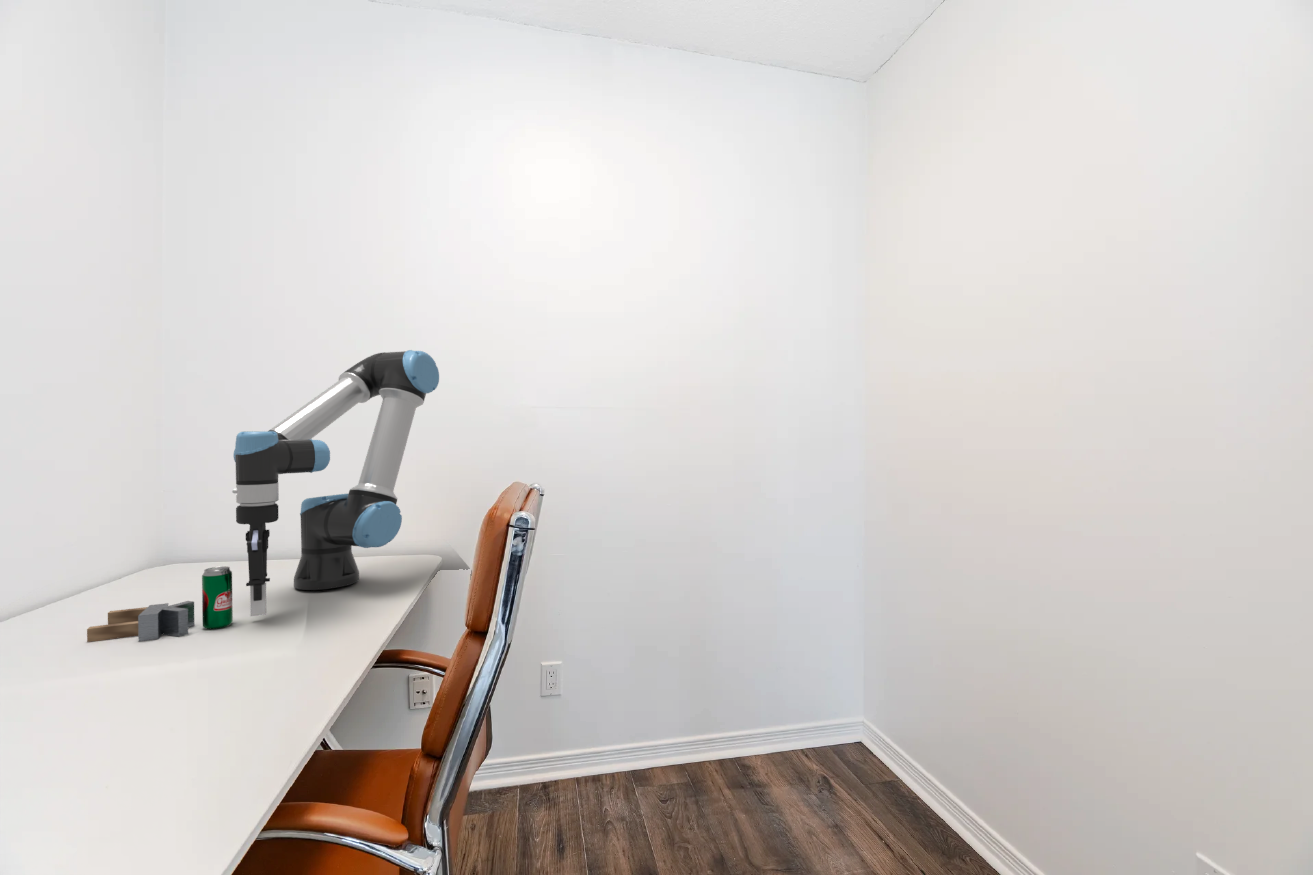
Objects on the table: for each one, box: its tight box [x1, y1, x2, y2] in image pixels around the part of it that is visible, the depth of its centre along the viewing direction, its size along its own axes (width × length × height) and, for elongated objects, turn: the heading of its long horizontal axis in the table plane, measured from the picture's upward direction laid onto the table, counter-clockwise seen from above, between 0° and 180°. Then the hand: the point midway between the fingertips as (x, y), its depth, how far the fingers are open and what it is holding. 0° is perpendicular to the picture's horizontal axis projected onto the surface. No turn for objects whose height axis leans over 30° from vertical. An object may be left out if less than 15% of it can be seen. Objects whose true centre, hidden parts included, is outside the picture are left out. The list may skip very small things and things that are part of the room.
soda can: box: [201, 565, 234, 630], centre depth 125 cm, size 5×5×12 cm
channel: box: [86, 606, 148, 643], centre depth 124 cm, size 8×13×2 cm, turn 28°
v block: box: [137, 600, 195, 642], centre depth 121 cm, size 8×8×5 cm
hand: (258, 614), depth 128 cm, fingers closed
